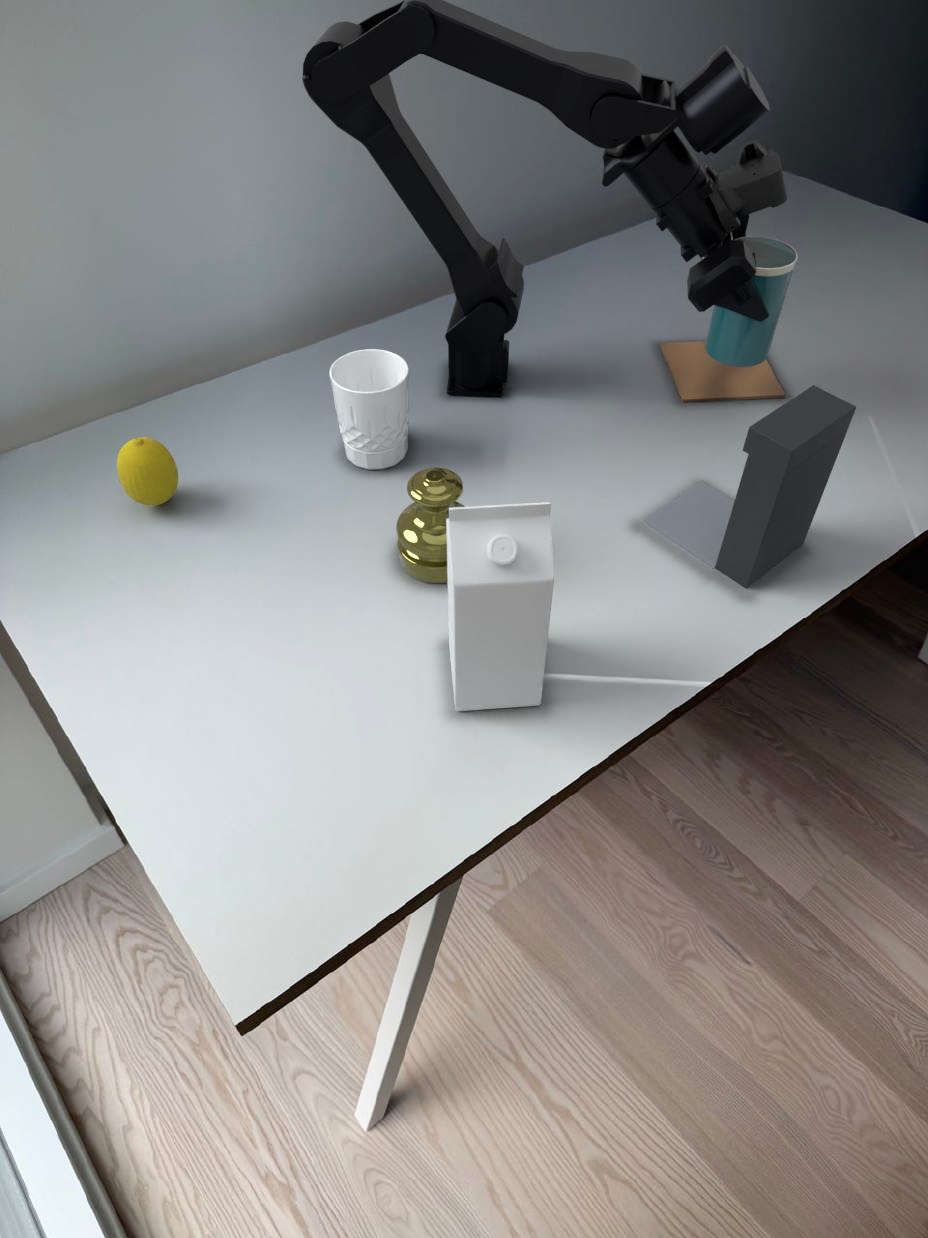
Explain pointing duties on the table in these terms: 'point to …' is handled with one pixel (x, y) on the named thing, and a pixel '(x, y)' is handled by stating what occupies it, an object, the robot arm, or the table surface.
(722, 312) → the container
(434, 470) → the brass calibration weight
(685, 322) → the table surface
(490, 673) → the milk carton
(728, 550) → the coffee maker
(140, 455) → the lemon
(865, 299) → the table surface
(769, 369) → the cork mat
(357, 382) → the white cup
